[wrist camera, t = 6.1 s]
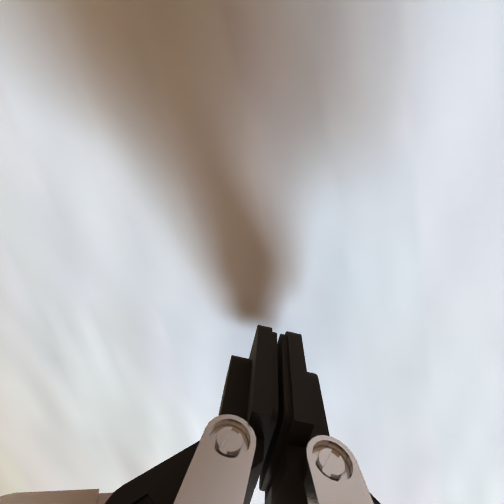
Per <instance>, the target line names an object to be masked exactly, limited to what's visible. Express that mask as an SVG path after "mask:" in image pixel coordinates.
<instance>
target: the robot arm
mask: <svg viewBox="0 0 504 504" xmlns="http://www.w3.org/2000/svg"><path fill="white" fill-rule="evenodd" d="M259 475H260V481H259V488H260V490H261V491H265V504H380V503H379V502H378V501H377V500H376V499H375V498H374V497H373V496H372V495H371V493H370V492H369V490H368V488H367V485H366V483H365V480H364V478H363V475H362V473H361V470H360V468H359V465H358V463H357V461H356V459H355V457H354V455H353V453H352V452H351V451H350V450H349V449H348V447H347V446H346V445H344V444H343V443H342V442H341V441H339V440H337V439H335V438H333V437H330V436H329V431H328V426H327V421H326V415H325V410H324V405H323V400H322V395H321V390H320V385H319V380H318V376H317V375H316V374H314V373H309V372H307V369H306V363H305V356H304V350H303V343H302V336H301V334H297V333H292V332H288V331H287V332H286V333H285V335H284V334H280V336H279V340H278V343H277V333H275V332H272V328H270V327H265V326H261V325H258V326H257V330H256V334H255V338H254V341H253V345H252V349H251V353H250V357H249V359H247V358H242V357H238V356H233V355H232V356H231V360H230V364H229V369H228V373H227V377H226V382H225V386H224V391H223V396H222V401H221V406H220V411H219V416H217V417H215V418H214V419H212V420H211V421H210V422H209V423H208V425H207V426H206V428H205V430H204V433H203V435H202V437H201V440H200V441H198V442H196V443H195V444H193V445H191V446H190V447H188V448H186V449H184V450H183V451H181V452H179V453H178V454H176V455H174V456H172V457H171V458H169V459H167V460H166V461H164V462H162V463H160V464H159V465H157V466H155V467H154V468H152V469H150V470H148V471H147V472H145V473H143V474H142V475H140V476H138V477H136V478H135V479H133V480H131V481H130V482H128V483H126V484H124V485H123V486H121V487H120V488H119V489H117V490H116V491H115V492H114V493H99V489H85V490H64V491H43V492H21V493H12V494H7V495H3V496H1V497H0V504H250V501H251V498H252V495H253V492H254V489H255V487H256V484H257V481H258V478H259Z"/></svg>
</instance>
